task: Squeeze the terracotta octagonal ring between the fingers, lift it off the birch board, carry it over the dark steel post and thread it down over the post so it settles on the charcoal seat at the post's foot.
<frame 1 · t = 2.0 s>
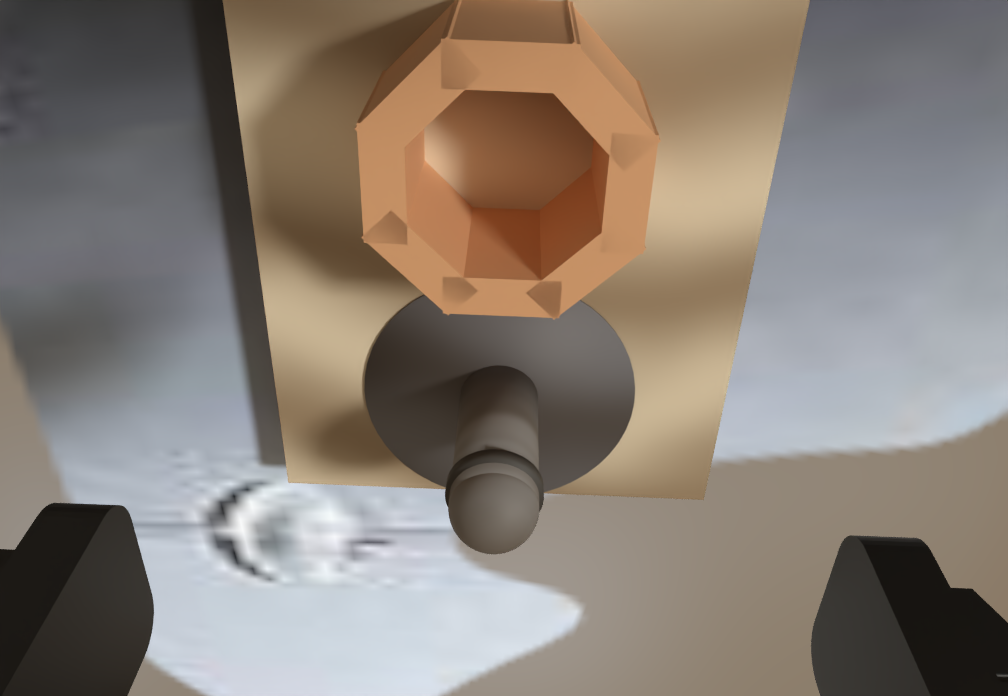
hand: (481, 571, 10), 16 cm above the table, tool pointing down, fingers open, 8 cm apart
post board: (505, 243, 26), on the table
ring: (509, 130, 23), point 1 cm above the table, touching post board
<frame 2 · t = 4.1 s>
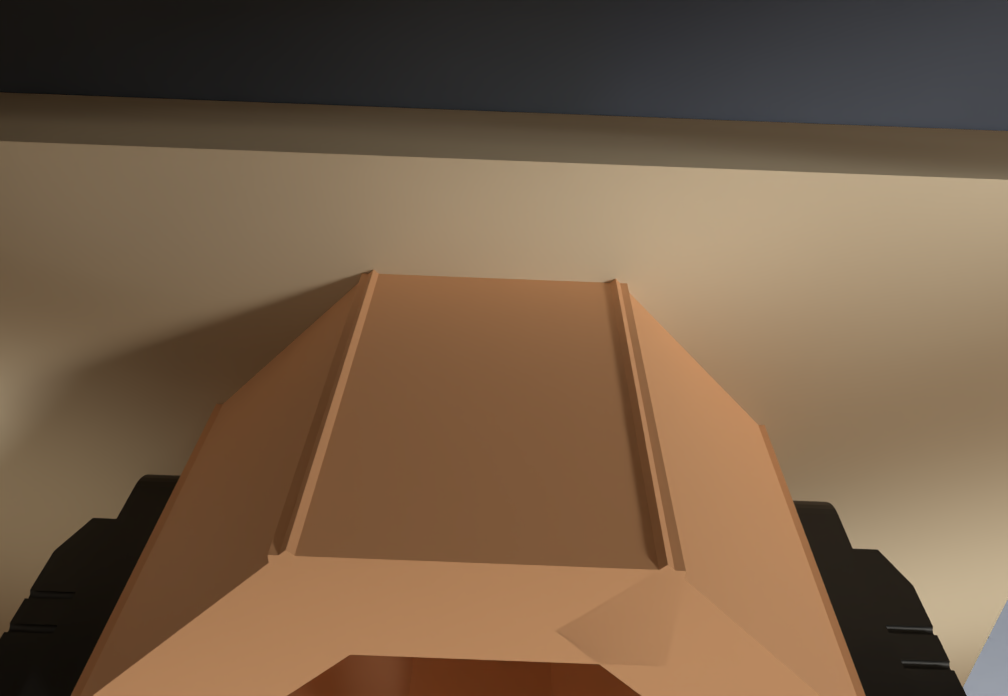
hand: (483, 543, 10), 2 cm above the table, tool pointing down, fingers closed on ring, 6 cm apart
post board: (485, 620, 14), on the table
ring: (487, 503, 11), point 2 cm above the table, touching gripper, post board
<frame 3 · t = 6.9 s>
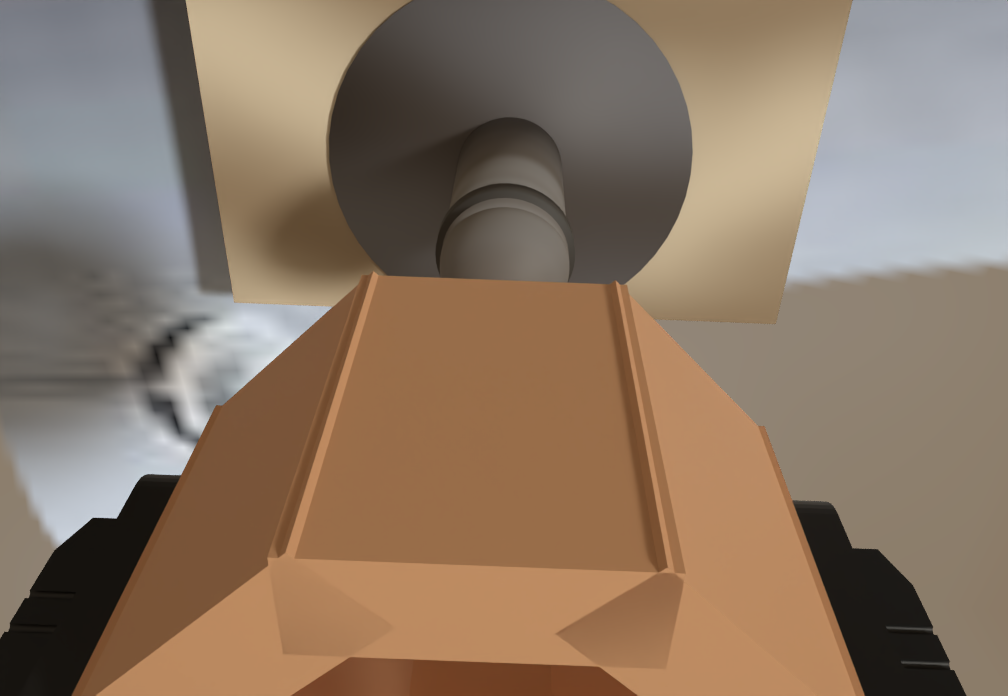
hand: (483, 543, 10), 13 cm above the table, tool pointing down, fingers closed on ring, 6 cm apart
ring: (487, 504, 11), point 13 cm above the table, touching gripper
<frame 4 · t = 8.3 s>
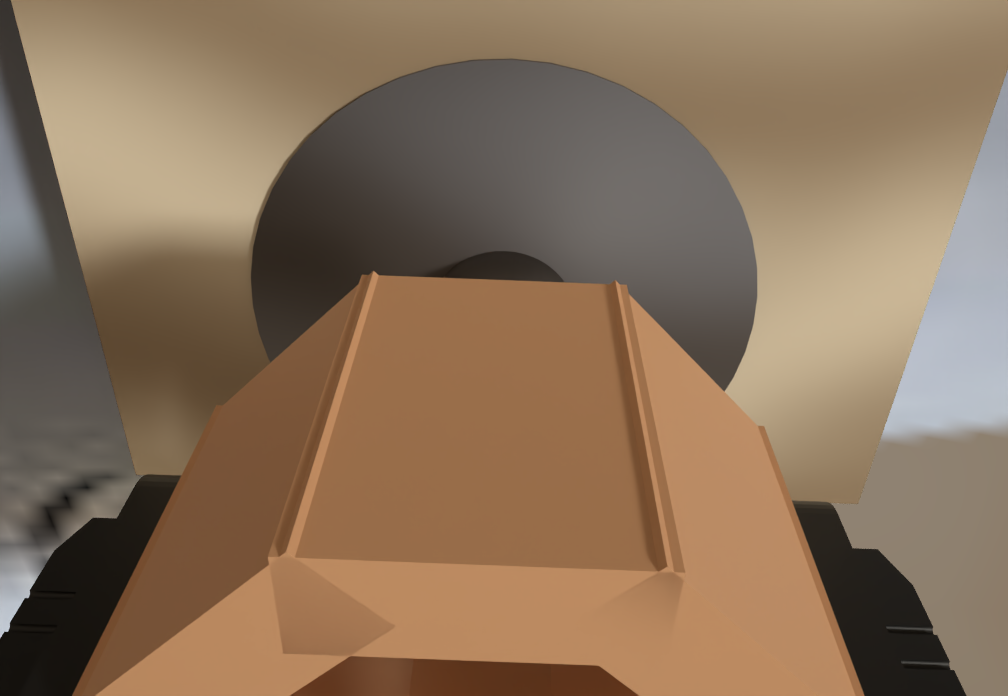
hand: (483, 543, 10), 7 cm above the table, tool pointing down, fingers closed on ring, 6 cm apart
post board: (514, 12, 13), on the table
ring: (487, 504, 11), point 6 cm above the table, touching gripper
when the fingers open (5 cm above the table, at t = 9.6 s): ring drops 3 cm, resting on post board.
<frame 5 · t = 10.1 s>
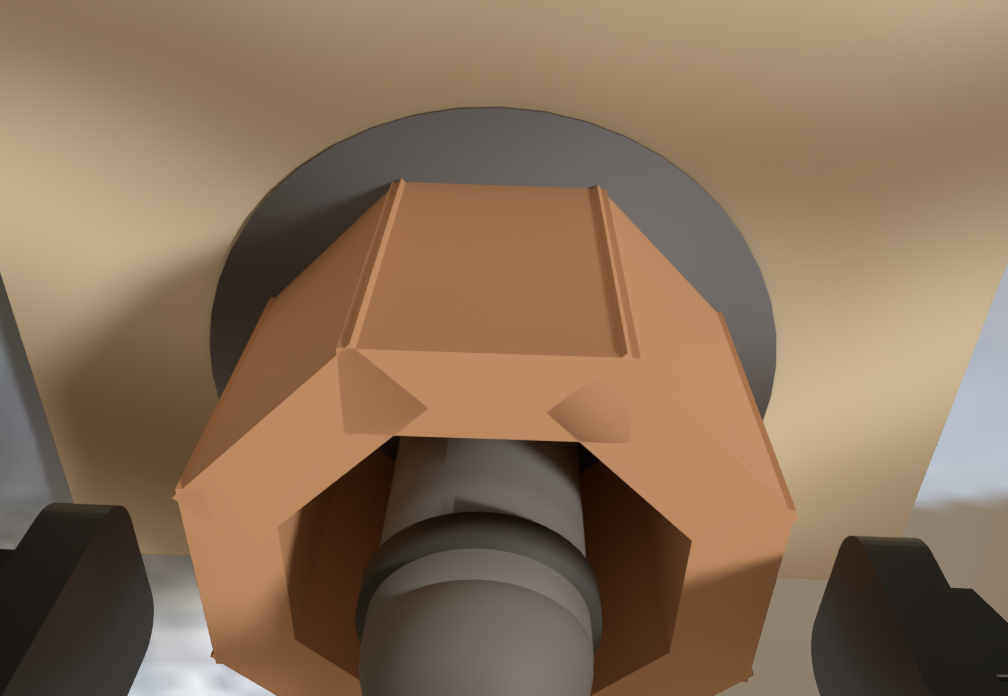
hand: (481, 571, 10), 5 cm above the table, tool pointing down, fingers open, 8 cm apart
post board: (503, 51, 12), on the table
ring: (493, 385, 13), point 2 cm above the table, touching post board
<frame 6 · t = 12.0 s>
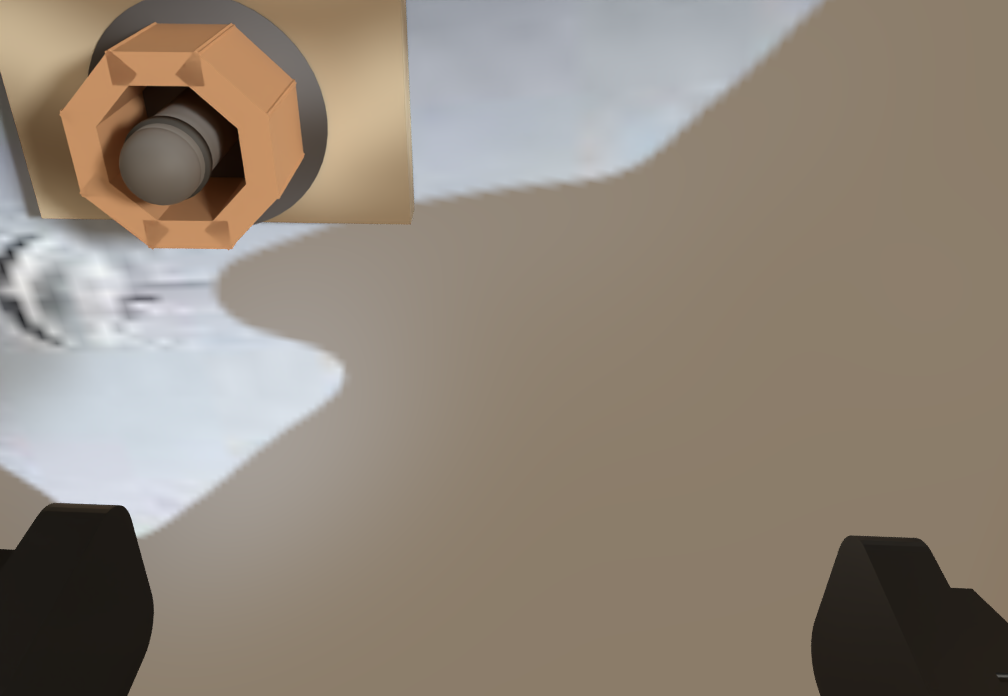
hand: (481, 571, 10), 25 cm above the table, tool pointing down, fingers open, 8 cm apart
ring: (209, 118, 31), point 2 cm above the table, touching post board
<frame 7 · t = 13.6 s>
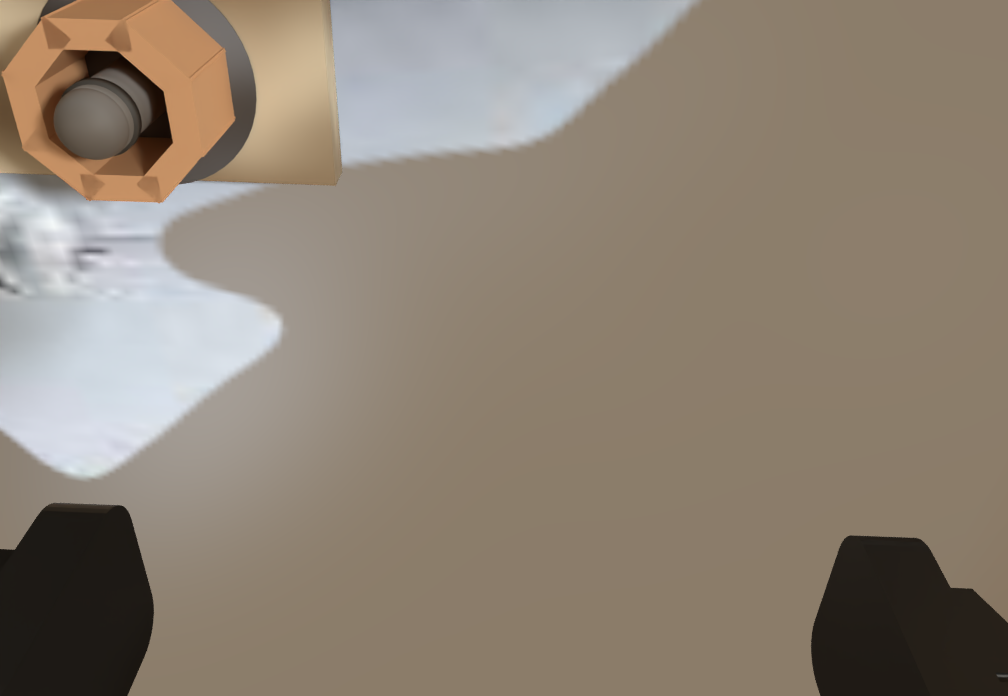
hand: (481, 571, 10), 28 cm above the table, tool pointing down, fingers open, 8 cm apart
ring: (147, 82, 34), point 2 cm above the table, touching post board
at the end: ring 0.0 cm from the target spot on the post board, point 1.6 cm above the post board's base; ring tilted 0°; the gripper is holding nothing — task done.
